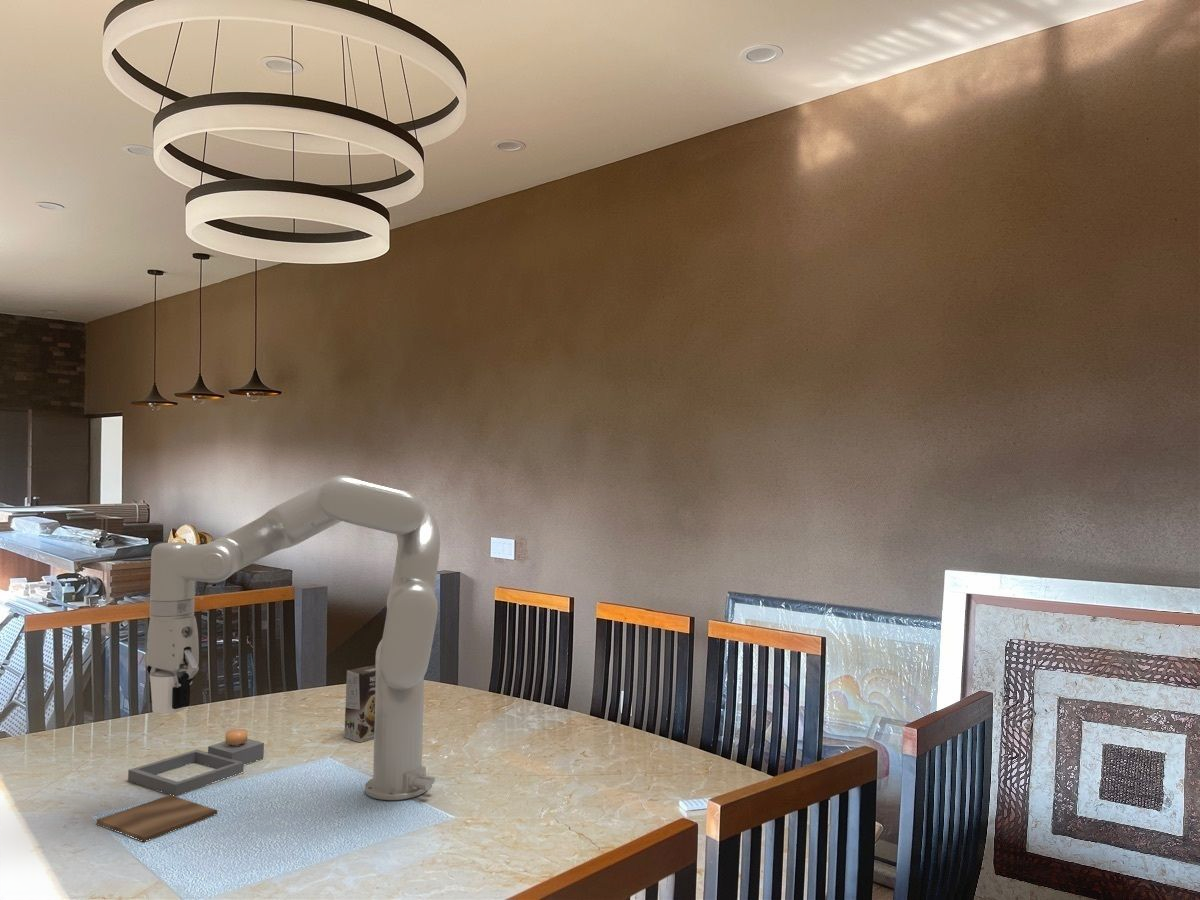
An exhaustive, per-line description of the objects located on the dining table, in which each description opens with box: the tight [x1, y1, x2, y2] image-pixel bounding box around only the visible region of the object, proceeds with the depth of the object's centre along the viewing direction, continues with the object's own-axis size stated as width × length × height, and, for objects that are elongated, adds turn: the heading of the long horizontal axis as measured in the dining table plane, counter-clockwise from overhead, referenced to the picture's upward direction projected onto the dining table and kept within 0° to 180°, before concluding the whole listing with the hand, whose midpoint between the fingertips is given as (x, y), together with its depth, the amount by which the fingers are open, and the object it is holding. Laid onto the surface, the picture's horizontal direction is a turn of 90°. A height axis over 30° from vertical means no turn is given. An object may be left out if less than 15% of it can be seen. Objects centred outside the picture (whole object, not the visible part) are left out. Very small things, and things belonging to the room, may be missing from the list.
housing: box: [127, 738, 265, 797], centre depth 179 cm, size 15×23×4 cm, turn 150°
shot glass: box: [149, 670, 187, 715], centre depth 160 cm, size 7×7×7 cm
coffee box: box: [343, 664, 376, 743], centre depth 205 cm, size 9×6×16 cm
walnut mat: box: [96, 794, 218, 842], centre depth 154 cm, size 14×14×1 cm
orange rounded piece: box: [224, 728, 248, 747], centre depth 186 cm, size 4×4×4 cm
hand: (169, 703), depth 160 cm, fingers closed on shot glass, 6 cm apart
